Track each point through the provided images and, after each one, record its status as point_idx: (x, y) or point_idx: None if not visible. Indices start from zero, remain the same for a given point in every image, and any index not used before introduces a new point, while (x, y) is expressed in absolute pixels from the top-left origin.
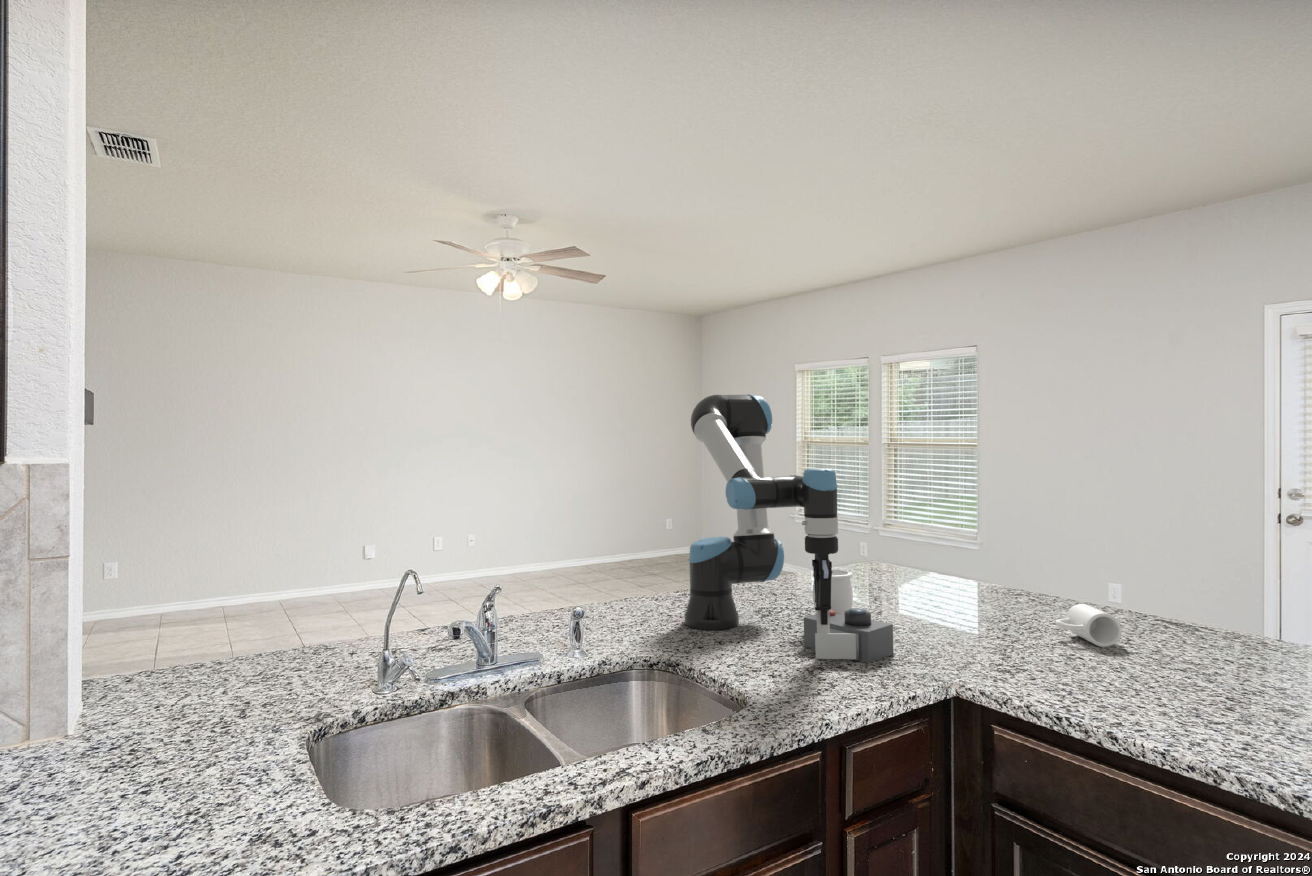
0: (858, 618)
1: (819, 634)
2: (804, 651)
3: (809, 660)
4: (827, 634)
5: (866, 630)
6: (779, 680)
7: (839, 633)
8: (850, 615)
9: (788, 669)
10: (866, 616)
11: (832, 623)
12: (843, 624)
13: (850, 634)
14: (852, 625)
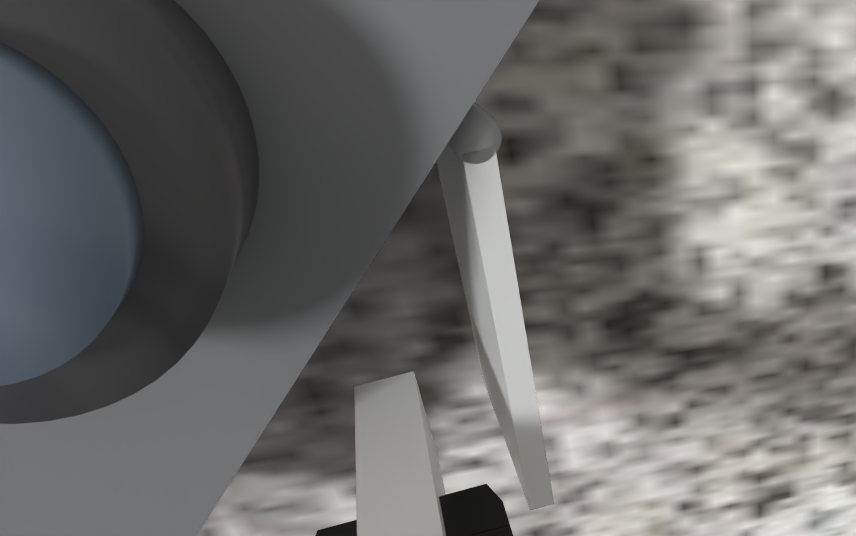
0: (235, 164)
1: (547, 472)
2: (296, 453)
3: (483, 397)
4: (539, 416)
5: (463, 7)
6: (835, 462)
7: (500, 322)
8: (211, 310)
9: (667, 461)
10: (129, 11)
11: (233, 443)
12: (232, 331)
13: (503, 209)
14: (252, 221)
